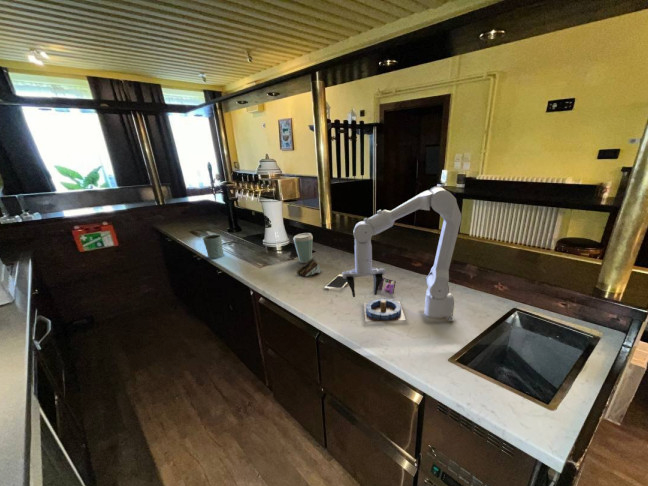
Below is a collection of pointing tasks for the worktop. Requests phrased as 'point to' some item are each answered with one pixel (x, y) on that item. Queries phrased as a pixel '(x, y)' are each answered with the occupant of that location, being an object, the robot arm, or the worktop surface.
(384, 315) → the ring
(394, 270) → the worktop surface
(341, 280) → the cell phone
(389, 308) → the platform
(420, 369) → the worktop surface
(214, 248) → the grey green cup
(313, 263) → the chocolate cake
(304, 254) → the disposable coffee cup
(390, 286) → the purple printed box
